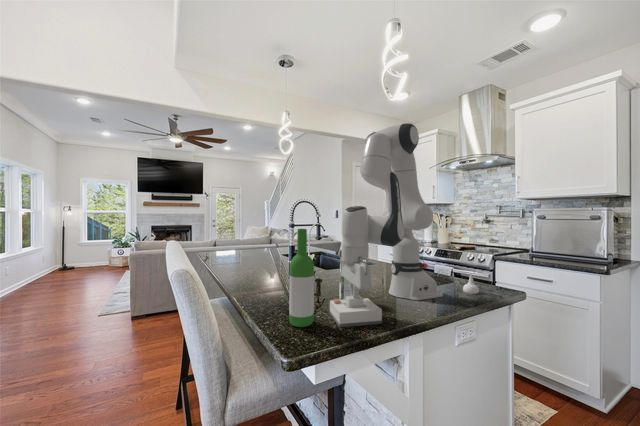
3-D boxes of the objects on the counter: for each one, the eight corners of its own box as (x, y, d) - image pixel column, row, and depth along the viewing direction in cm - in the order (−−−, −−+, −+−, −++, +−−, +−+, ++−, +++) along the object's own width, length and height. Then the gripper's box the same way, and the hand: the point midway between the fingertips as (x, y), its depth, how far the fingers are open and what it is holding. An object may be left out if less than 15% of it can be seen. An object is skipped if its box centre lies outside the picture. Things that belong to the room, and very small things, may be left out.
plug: (359, 312, 97) (359, 295, 97) (363, 316, 93) (363, 298, 93) (345, 313, 96) (345, 296, 96) (348, 317, 92) (349, 299, 92)
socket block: (367, 310, 102) (367, 295, 102) (381, 323, 90) (381, 307, 90) (329, 313, 99) (329, 298, 99) (339, 327, 87) (339, 310, 87)
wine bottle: (313, 318, 94) (314, 228, 94) (313, 328, 86) (314, 229, 86) (290, 318, 94) (290, 228, 94) (288, 328, 86) (288, 229, 86)
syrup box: (338, 299, 115) (339, 263, 114) (353, 299, 115) (353, 263, 115) (341, 304, 109) (341, 266, 109) (356, 303, 109) (356, 266, 109)
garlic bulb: (479, 296, 122) (481, 278, 122) (462, 293, 125) (465, 275, 125) (477, 292, 128) (480, 275, 128) (462, 289, 131) (464, 272, 130)
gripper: (376, 260, 85) (376, 306, 85) (354, 250, 105) (353, 287, 105) (356, 260, 84) (356, 307, 84) (337, 250, 104) (337, 288, 104)
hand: (354, 296), depth 95 cm, fingers closed
